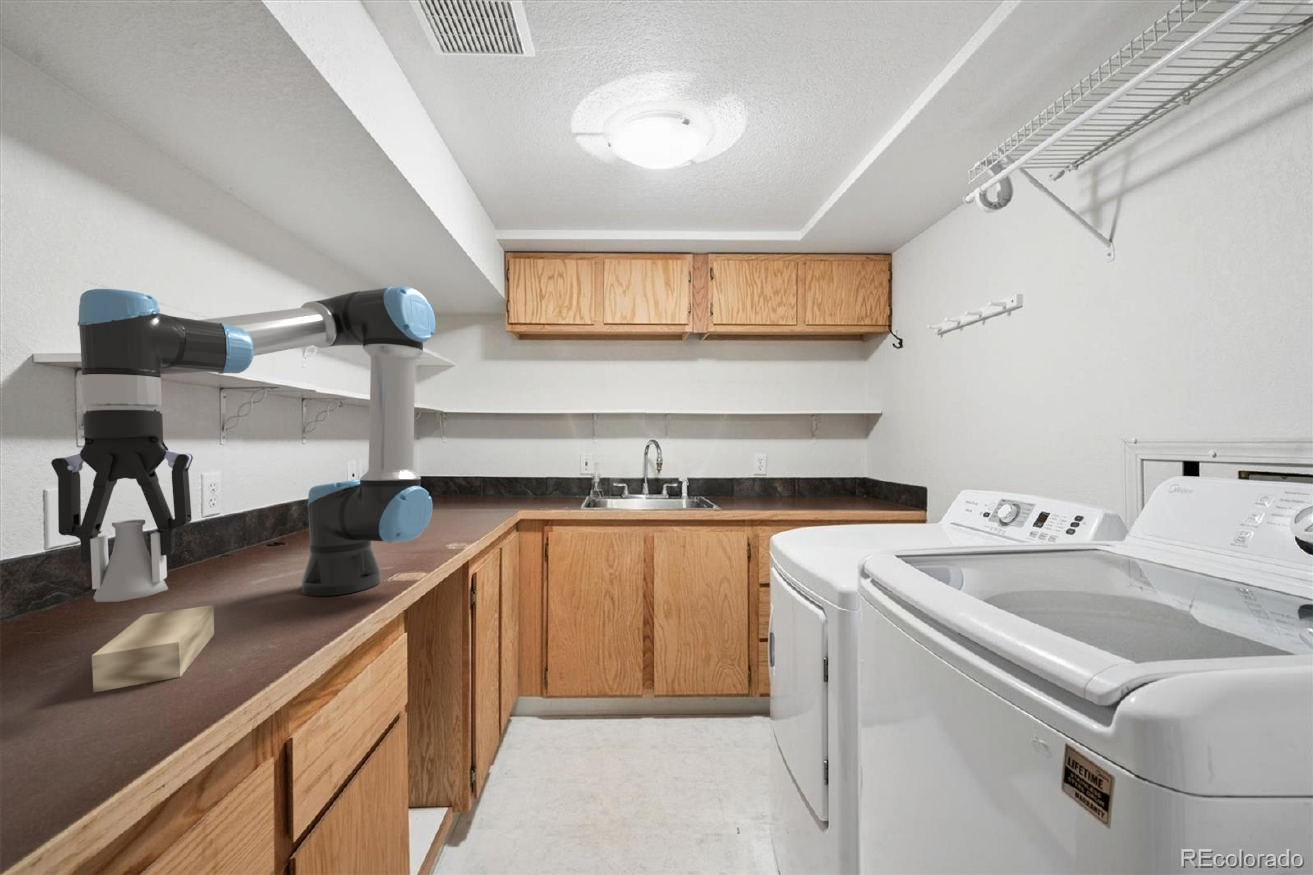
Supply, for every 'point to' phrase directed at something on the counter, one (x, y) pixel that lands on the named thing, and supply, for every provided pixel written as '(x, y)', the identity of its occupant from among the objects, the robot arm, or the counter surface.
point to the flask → (128, 566)
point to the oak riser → (153, 648)
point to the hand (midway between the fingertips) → (131, 582)
